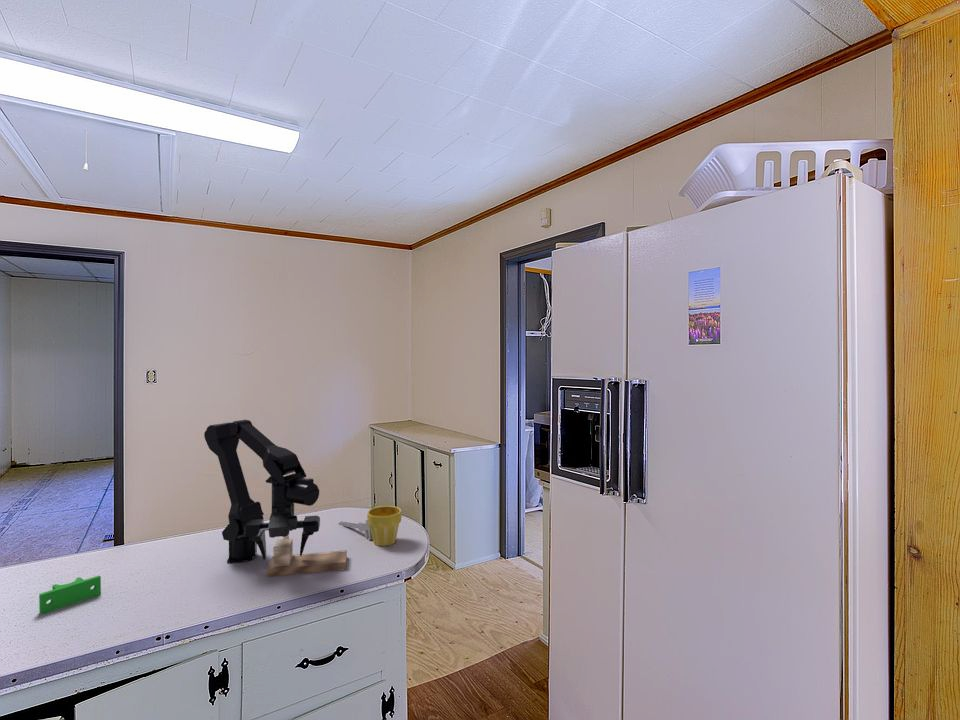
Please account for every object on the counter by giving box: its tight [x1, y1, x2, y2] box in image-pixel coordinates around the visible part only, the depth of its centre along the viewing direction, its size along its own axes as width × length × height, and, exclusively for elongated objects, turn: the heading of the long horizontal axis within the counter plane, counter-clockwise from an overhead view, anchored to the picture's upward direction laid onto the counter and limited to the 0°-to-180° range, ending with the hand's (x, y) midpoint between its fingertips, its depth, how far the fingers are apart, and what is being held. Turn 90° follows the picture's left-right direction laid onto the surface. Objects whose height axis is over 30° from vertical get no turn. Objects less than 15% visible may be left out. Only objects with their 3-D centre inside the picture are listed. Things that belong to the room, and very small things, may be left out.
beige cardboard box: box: [272, 535, 294, 567], centre depth 136 cm, size 4×9×5 cm, turn 13°
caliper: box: [338, 519, 373, 541], centre depth 162 cm, size 20×1×6 cm, turn 44°
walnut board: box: [266, 549, 348, 578], centre depth 136 cm, size 20×8×2 cm, turn 103°
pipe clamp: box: [38, 574, 102, 615], centre depth 116 cm, size 11×4×5 cm, turn 145°
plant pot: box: [366, 505, 403, 547], centre depth 153 cm, size 10×10×10 cm
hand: (283, 557), depth 134 cm, fingers open, 9 cm apart
